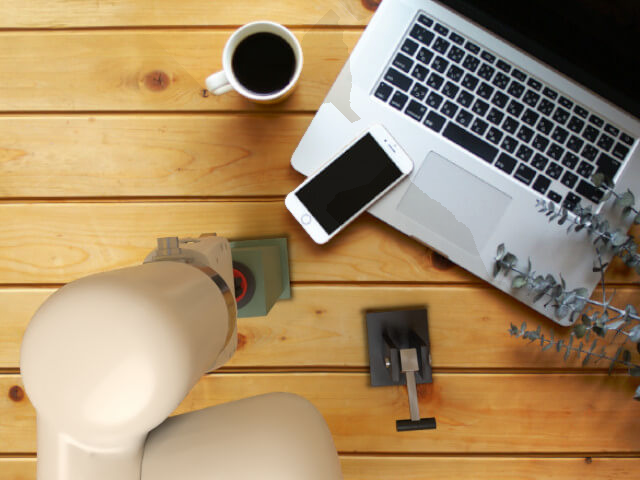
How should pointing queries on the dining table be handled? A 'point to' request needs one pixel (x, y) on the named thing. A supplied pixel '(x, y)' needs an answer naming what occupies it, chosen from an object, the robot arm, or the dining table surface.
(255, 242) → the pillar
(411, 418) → the lever
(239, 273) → the stop button
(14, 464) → the dining table surface
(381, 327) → the bracket
